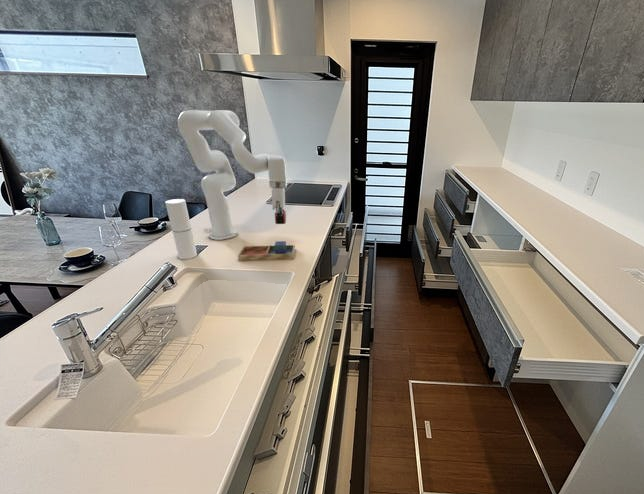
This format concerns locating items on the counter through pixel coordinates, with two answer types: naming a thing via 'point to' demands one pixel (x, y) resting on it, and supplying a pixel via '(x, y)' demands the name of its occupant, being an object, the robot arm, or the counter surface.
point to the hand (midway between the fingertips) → (280, 221)
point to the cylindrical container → (181, 228)
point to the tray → (264, 253)
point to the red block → (282, 215)
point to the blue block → (280, 247)
